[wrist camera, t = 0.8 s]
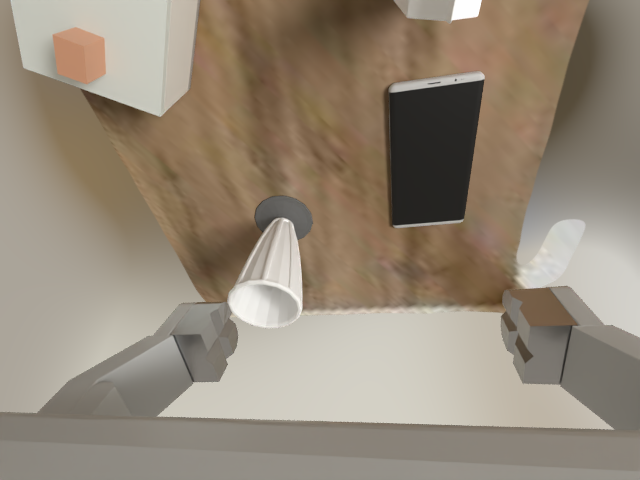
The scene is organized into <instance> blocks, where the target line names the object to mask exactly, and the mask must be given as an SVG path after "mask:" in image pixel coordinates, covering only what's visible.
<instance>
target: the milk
mask: <svg viewBox="0 0 640 480" xmlns="http://www.w3.org/2000/svg"><path fill="white" fill-rule="evenodd" d="M481 1H482V0H394V2H395V3H396V4H397V6H398V7H399V8H400V9H401V11H402V12H403V13H404V14H405V16H406V17H407V18H414V19H427V20H440V21H447V22H448V23H451V22H452V20H458V19H465V18H472V17H477V16H478V14H479V10H480V6H481Z"/></svg>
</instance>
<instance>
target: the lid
mask: <svg viewBox="0 0 640 480" xmlns="http://www.w3.org/2000/svg"><path fill="white" fill-rule="evenodd" d="M10 1H11V7H12V12H13V17H14V22H15V27H16V33H17V37H18V43H19V48H20V53H21V58H22V64H23V68H25V69H27V70H30V71H33V72H36V73H39V74H42V75H44V76H47V77H50V78H53V79H56V80H58V81H61V82H64V83H67V84H70V85H73V86H75V87H78V88H81V89H84V90H86V91H89V92H92V93H95V94H98V95H100V96H103V97H106V98H109V99H112V100H114V101H117V102H120V103H123V104H126V105H129V106H131V107H134V108H137V109H140V110H143V111H145V112H148V113H151V114H154V115H157V116H159V117H161V116H162V115H163V114H164V99H165V84H166V68H167V53H168V38H169V23H170V8H171V0H10Z"/></svg>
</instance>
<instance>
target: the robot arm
mask: <svg viewBox="0 0 640 480" xmlns="http://www.w3.org/2000/svg"><path fill="white" fill-rule="evenodd" d="M502 303H503V305H504V307H505V309H506V312H505V313H504V314H503V315H502V316H501V331H502V337H503V341H504V344H505V346H506V349H507V351H509V352H510V353H512V354H513V355H514V361H513V364H514V366H515V368H516V370H517V372H518V374H519V376H520V379H521V380H522V383H527V384H529V383H530V384H560V385H561V387H562V388H564V389H565V390H566V391H567V392H569V393H570V394H571V395H572V396H574V397H575V398H576V399H577V400H579V401H580V402H581V403H582V404H584V405H585V406H587V408H589V409H590V410H591V411H592V412H594V413H595V414H596V415H598V416H599V417H600V418H601V419H603V420H604V421H605V422H606V423H608V424H609V425H610V426H611V427H613V428H614V429H615V430H605V429H603V430H601V429H568V428H528V427H493V426H462V425H429V424H428V425H427V424H397V423H395V424H394V423H362V422H361V423H360V422H327V421H290V420H287V421H286V420H255V419H253V420H252V419H218V418H185V417H156V416H157V415H159V414H160V413H161V412H162V411H163V410H164V409H165V408H167V407H168V406H169V405H170V404H171V403H172V402H173V401H174V400H175V399H177V398H178V397H179V396H180V395H181V394H182V393H183V392H184V391H186V390H187V389H188V388H189V387H190V386H191V385H192V384H193V382H218V381H220V379H221V377H222V375H223V373H224V371H225V369H226V367H227V365H228V364H227V361H226V358H228V357H229V356H231V355H232V354H233V353H234V351H235V349H236V346H237V341H238V332H237V328H236V324H235V323H234V322H233V321H232V320H230V319H229V317H230V315H231V313H232V312H231V309H230V307H229V304H228V303H226V302H198V303H195V302H194V303H182V304H179V306H178V307H177V308H176V309H175V310H174V311H173V313H172V314H171V315H170V316H169V317H168V319H167V320H166V321H165V322H164V323H163V324H162V326H161V327H160V328H159V329H158V330H157V331H156V333H155V334H154V335H153V336H147V337H146V338H144V339H142V340H140V341H139V342H137V343H135V344H134V345H132V346H130V347H128V348H126V349H124V350H123V351H121V352H119V353H117V354H115V355H114V356H112V357H110V358H108V359H107V360H105V361H103V362H101V363H99V364H98V365H96V366H94V367H92V368H91V369H89V370H87V371H85V372H84V373H82V374H80V375H78V376H76V377H75V378H73V379H71V380H70V381H68V382H67V383H66V384H65V385H64V386H63V387H62V388H61V389H60V390H59V391H58V392H57V393H56V394H55V395H54V396H53V397H52V399H50V400H49V401H48V402H47V403H46V405H44V407H42V408H41V409H40V411H38V413H13V412H0V480H640V338H639V337H637V336H635V335H633V334H631V333H628V332H626V331H624V330H622V329H619V328H617V327H615V326H613V325H604V324H603V323H602V322H601V320H600V319H599V318H598V317H597V316H596V315H595V314H594V313H593V311H592V310H590V308H589V307H588V306H587V305H586V304H585V303H584V302H583V300H582V299H581V298H580V297H579V296H578V295H577V294H576V293H575V292H574V290H573V289H572V288H570V287H568V286H558V287H546V288H534V289H516V290H505V291H504V294H503V301H502Z"/></svg>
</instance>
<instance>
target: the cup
mask: <svg viewBox="0 0 640 480" xmlns="http://www.w3.org/2000/svg"><path fill="white" fill-rule="evenodd" d="M255 220H256V223H257V226H258V227H259V229H260V230H261V231H262V232H263V234H262V235H261V237H260V238H259V240H258V241H257V243H256V245H255V247H254V248H253V250H252V252H251V254H250V255H249V257H248V259H247V261H246V263H245V265H244V267H243V269H242V271H241V273H240V275H239V277H238V279H237V281H236V283H235V285H234V287H233V288H232V289H231V290H230V292H229V293H228V300H227V303H228V304H229V307H230V309H231V311H232V313H233V314H235V315H236V316H237V317H238V318H239V319H240V320H242V321H244V322H246V323H248V324H250V325H252V326H257V327H262V328H280V327H283V326H286V325H289V324H291V323H292V322H294V321H295V320H296V319H297V318H299V316H300V313H301V311H302V273H301V262H300V253H299V247H298V240H299V239H301V238H303V237H305V236H306V235H307V234H308V233H309V232H310V230H311V227H312V224H313V221H312V216H311V213H310V211H309V210H308V209H307V207H306V206H305V205H304V204H303V203H301V202H300V201H298V200H297V199H294V198H291V197H287V196H275V197H270V198H268V199H266V200H264V201H262V202H261V204H260V205H259V206H258V207H257V209H256V214H255Z"/></svg>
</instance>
